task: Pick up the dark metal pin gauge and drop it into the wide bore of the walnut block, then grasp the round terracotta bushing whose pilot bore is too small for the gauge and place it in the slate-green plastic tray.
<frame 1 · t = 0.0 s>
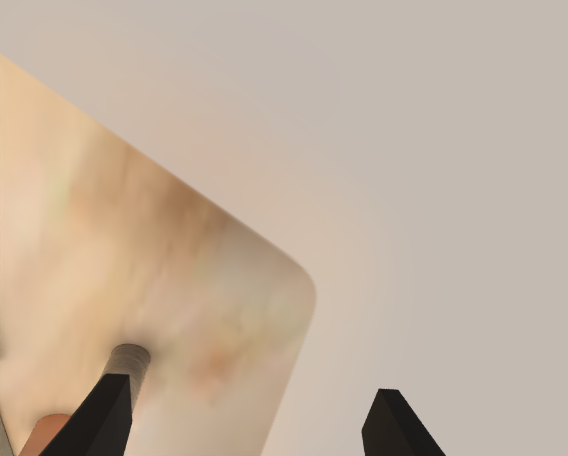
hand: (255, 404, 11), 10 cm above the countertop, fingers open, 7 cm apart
pin gauge: (130, 357, 23), on the countertop
terracotta round: (64, 430, 26), on the countertop
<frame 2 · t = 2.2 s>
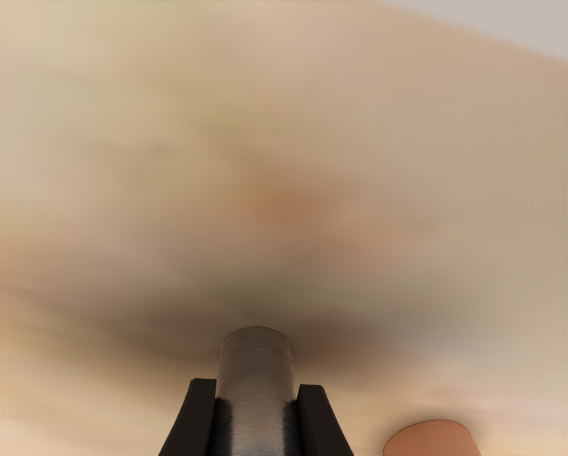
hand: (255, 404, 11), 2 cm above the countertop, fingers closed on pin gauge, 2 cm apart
pin gauge: (255, 353, 12), on the countertop, touching gripper
terracotta round: (426, 447, 16), on the countertop
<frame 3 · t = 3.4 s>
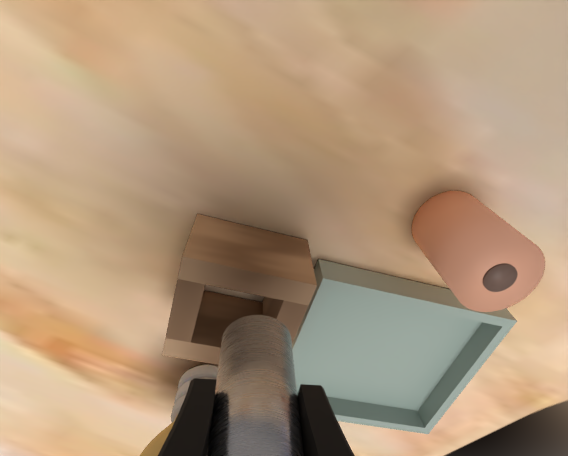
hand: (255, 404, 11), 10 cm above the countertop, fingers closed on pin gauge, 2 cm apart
light bulb: (209, 375, 25), on the countertop
pin gauge: (256, 341, 13), point 8 cm above the countertop, touching gripper
tray: (376, 346, 24), on the countertop
terracotta round: (446, 223, 20), on the countertop
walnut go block: (240, 272, 21), on the countertop
when the fingers open (5 cm above the countertop, at t = 5.0 s): pin gauge drops 3 cm, resting in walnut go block.
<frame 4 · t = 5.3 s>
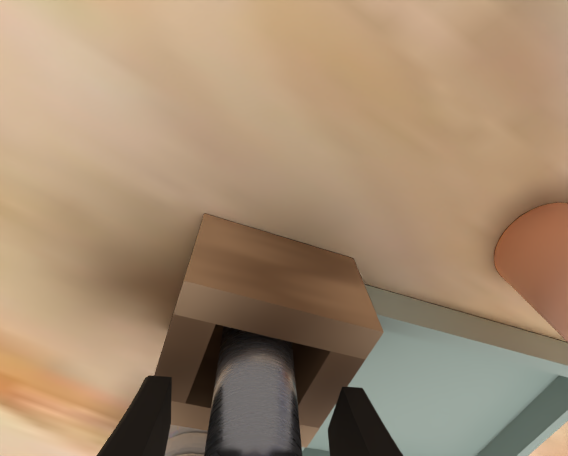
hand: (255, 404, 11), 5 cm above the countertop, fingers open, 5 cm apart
light bulb: (200, 423, 19), on the countertop
pin gauge: (257, 294, 15), resting in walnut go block
tray: (419, 396, 19), on the countertop
terracotta round: (541, 245, 15), on the countertop
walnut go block: (256, 296, 15), on the countertop
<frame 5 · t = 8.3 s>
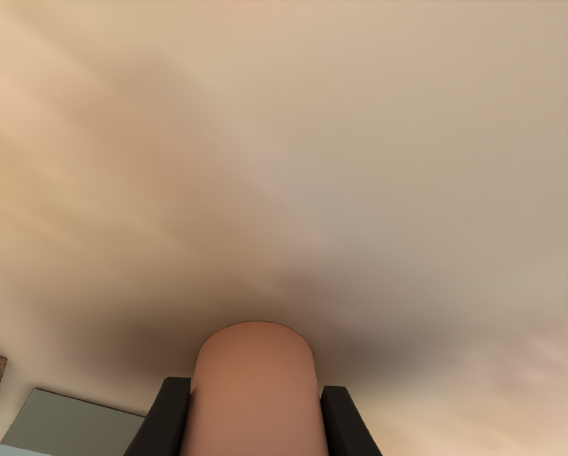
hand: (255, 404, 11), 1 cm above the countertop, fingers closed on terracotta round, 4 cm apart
terracotta round: (255, 365, 12), on the countertop, touching gripper
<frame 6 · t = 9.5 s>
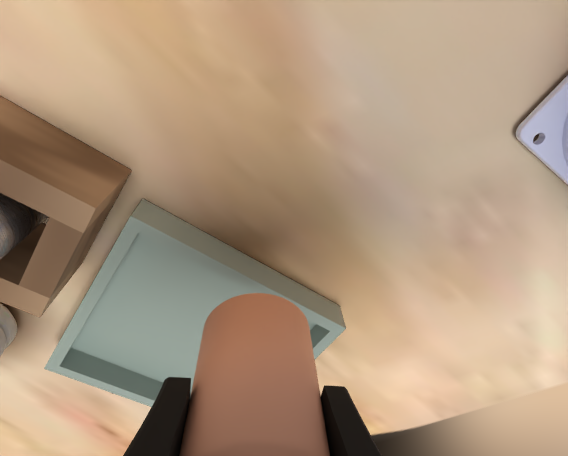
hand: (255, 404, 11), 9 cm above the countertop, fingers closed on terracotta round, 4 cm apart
pin gauge: (42, 184, 16), resting in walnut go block
tray: (199, 324, 21), on the countertop
terracotta round: (256, 334, 13), point 6 cm above the countertop, touching gripper
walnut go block: (41, 186, 16), on the countertop
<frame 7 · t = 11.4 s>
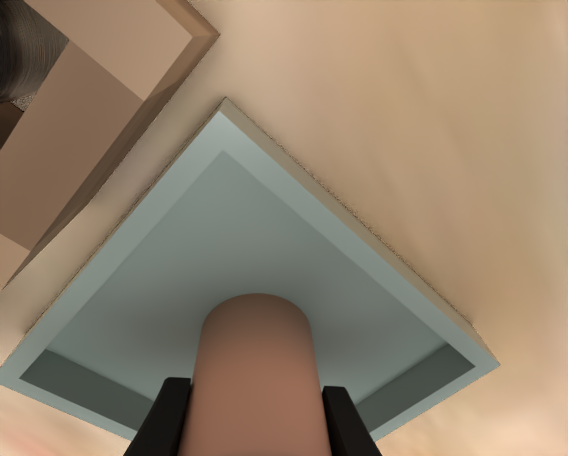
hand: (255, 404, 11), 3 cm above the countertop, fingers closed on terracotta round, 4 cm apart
pin gauge: (41, 32, 8), resting in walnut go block
tray: (256, 331, 13), on the countertop
terracotta round: (256, 336, 13), resting on tray, touching gripper
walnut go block: (37, 38, 8), on the countertop
when the fingers open (3 cm above the countertop, at t = 11.4 s): terracotta round stays where it is, resting on tray.
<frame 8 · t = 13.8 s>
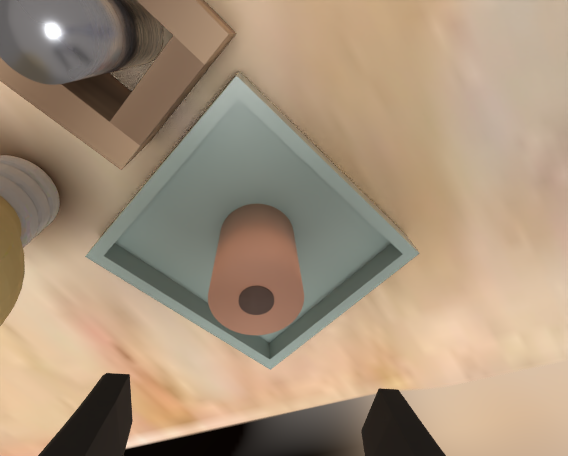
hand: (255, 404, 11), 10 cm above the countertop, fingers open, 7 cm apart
light bulb: (26, 187, 18), on the countertop
pin gauge: (132, 32, 15), resting in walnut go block
tray: (257, 236, 19), on the countertop
terracotta round: (257, 237, 19), point 1 cm above the countertop, touching tray
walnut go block: (130, 35, 15), on the countertop
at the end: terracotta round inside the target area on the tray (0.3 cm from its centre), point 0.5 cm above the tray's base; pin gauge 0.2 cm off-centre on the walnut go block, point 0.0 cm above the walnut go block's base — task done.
